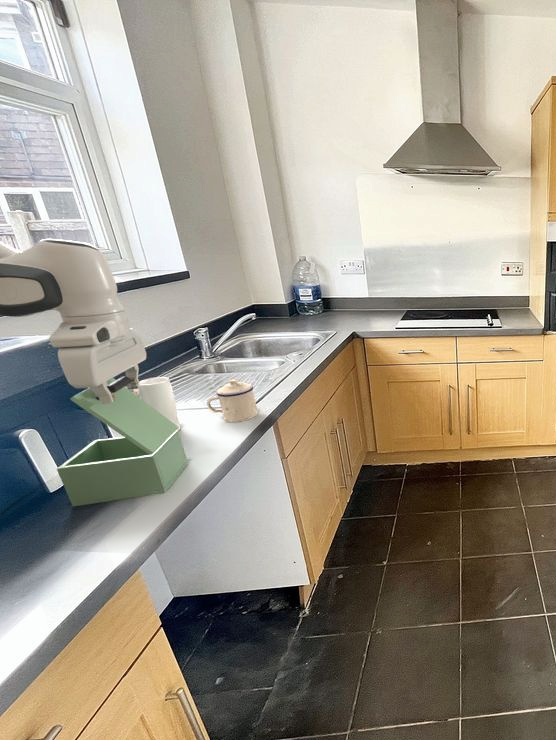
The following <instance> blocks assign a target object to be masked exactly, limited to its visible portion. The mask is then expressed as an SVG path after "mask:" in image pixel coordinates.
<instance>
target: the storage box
mask: <svg viewBox="0 0 556 740" xmlns="http://www.w3.org/2000/svg"><path fill="white" fill-rule="evenodd" d="M181 438H182V437H181V435H180V430H177V431H175V432H174V433H173V434H172V435H171V436H170V437H169V438H168V439H167V440H166V441H165V442H164V443H163V444H162V445H161V446H160V447H159V448H158V449H157V450H156V451H155V452H154V453H153V454H152V455H149V454H148V453H147V452H145V451H144V450H142V449H141V448H139V447H138V446H137V445H135V444H134V443H132V442H131V441H129V440H128V439H126V438H125V437H124V436H118V437H110V438H102V439H101V438H100V439H95V440H93V441H92V442H90V443H89V444H87V446H85V447H84V448H82V449H81V450H80V451H78V452H77V453H75V454H74V455H73V456H71V457H70V458H69V459H67V460H66V461H64V463H62V464H61V465H59V466H58V467H57V468H56V472H57V473H58V475H59V478H60V480H61V482H62V485H63V487H64V490H65V492H66V494H67V496H68V500H69V502H70V503H71V506H72V507H80V506H87V505H92V504H93V505H94V504H98V503H99V504H100V503H105V502H112V501H119V500H125V499H133V498H139V497H146V496H151V495H158V494H165V493H166V492H167V491H168V490H169V488H170V487H171V486H172V484H173V483H174V482H175V481H176V480H177V479H178V478H179V476H180V474H182V472H183V471H184V470H185V469H186V467H187V466H188V464H189V461H188V458H187V454H186V452H185V448H184V445H183V440H182V439H181Z"/></svg>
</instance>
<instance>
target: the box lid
mask: <svg viewBox="0 0 556 740" xmlns="http://www.w3.org/2000/svg"><path fill="white" fill-rule="evenodd" d="M130 383H131V379H130V378H129V377H126V375H125V376H121V377H120V378H118V379H116V378H115V377H113V378H111V379H110V380H108V381H107V384H108V386H107V388H108V390H109V391H110V392H114V395H115V398H116V400H115V401H113V402H112V403H109V404H102V403H101V402H100V400H99V397H98V396H97V395H96V394H95V393H94V392H93V391H92V390H91V389H90V387H89V388H85V389H84V390H83V391H81V392H79V393H77V394H75V395H73V396H72V397H70V398H69V400H70V401H71V402H73V403H74V404H76V405H77V406H79V407H80V408H82V409H83V410H85V411H86V412H87V413H89V414H90V415H92V416H93V417H94V418H96V419H97V420H99V421H101V422H102V423H103V424H105V425H106V426H107V427H109V428H111V429H112V430H113V431H115V432H116V433H117V434H119V435H121V437H125V438H126V439H128V440H129V441H131V442H132V443H134V444H135V445H137V446H138V447H139V448H141V449H142V450H144V451H145V452H147V453H148V454H149V455H152V454H153V453H154V452H155V451H156V450H157V449H158V448H159V447H160V446H161V445H162V444H163V443H164V442H165V441H166V440H167V439H168V438H169V437H170V436H171V435H172V434H173V433H174V432H175V431H176V430H177V429H178V428H179V427H178V426H177V425H175V424H174V423H173V422H171V421H170V420H169V419H167V418H166V417H165V416H163V415H162V414H161V413H159V412H158V411H157V410H155V409H154V408H153V407H151V406H150V405H149V404H147V403H146V402H145V401H143V400H142V399H141V398H139V397H138V396H137V395H135V394H134V393H133V392H131V391H130V390H129V389H127V388H126V387H125V386H127V385H128V384H130Z"/></svg>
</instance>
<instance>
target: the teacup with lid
mask: <svg viewBox="0 0 556 740" xmlns="http://www.w3.org/2000/svg"><path fill="white" fill-rule="evenodd" d="M254 393H255V392H254V386H253V385H252V384H251V383H248V382H241V381H238V380H237V379H236V378H233V379H229V380H228V383H226V384H225V385H224V386H221V387H219V388H218V389H217V390H216V395H217V396H212V397H209V399H208V400H207V401H206V406H207V409H208V410H209V411H211V412H212V413H215V414H222V416H223V419H224V421H226V422H229V423H240V422H244V421H248V420H250V419H253V418H255V417H256V416H257V415H258V414H259V412H258V407H257V403H256V398H255V394H254ZM216 400H218V401H219V404H220V408H221V409H216V408H214V407H212V405H211V403H212V401H216Z"/></svg>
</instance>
